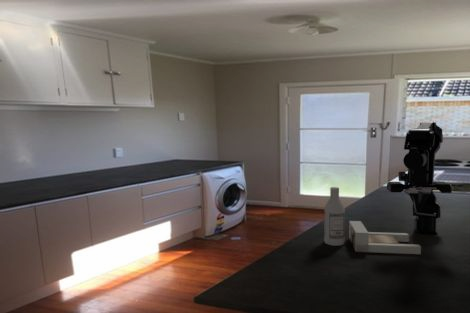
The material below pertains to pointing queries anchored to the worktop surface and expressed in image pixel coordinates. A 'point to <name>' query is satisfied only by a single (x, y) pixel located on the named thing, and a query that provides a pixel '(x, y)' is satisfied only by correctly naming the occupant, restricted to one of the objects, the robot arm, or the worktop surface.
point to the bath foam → (334, 219)
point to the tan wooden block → (382, 239)
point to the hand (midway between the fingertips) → (417, 212)
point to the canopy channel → (363, 243)
